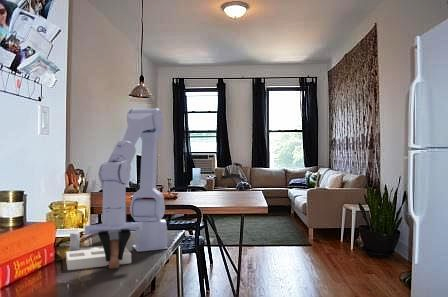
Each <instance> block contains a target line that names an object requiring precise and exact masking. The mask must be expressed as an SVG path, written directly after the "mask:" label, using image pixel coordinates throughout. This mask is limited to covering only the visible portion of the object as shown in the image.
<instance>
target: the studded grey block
mask: <svg viewBox="0 0 448 297" xmlns="http://www.w3.org/2000/svg"><path fill="white" fill-rule="evenodd" d="M80 236H81V233H80V232H71V233H70V234H69V248H68V251H79V250H89V249H100V248H103V245H98V246H88V247H86V246H85V247H80V244H81V243H80V241H81V240H80V238H81V237H80Z"/></svg>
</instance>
